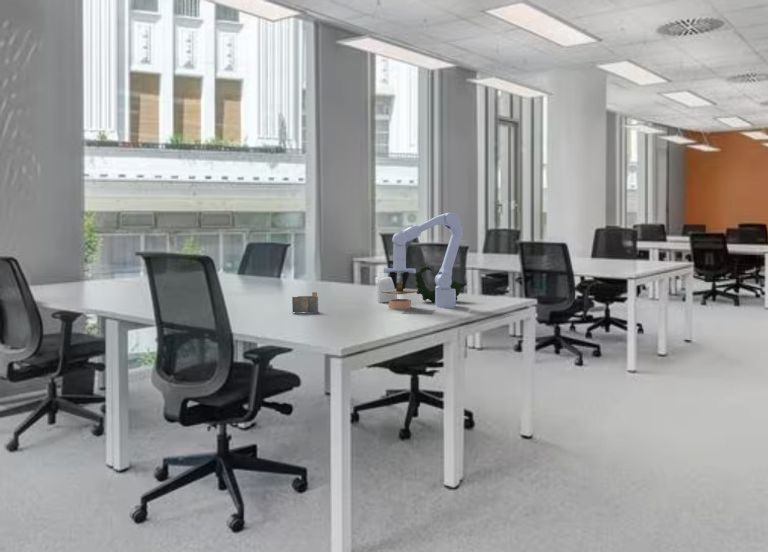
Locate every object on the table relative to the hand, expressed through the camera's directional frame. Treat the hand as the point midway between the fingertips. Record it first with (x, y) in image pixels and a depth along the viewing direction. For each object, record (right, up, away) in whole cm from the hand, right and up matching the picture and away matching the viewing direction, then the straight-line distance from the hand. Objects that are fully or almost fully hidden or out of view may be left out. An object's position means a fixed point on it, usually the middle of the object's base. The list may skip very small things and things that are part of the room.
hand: (399, 288), depth 316 cm
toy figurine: (+21, -7, +24) cm, 32 cm away
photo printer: (-6, -7, +26) cm, 27 cm away
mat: (+8, -11, -13) cm, 19 cm away
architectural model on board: (-43, -11, -7) cm, 45 cm away
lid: (0, -2, 0) cm, 2 cm away
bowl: (0, -9, +1) cm, 9 cm away
